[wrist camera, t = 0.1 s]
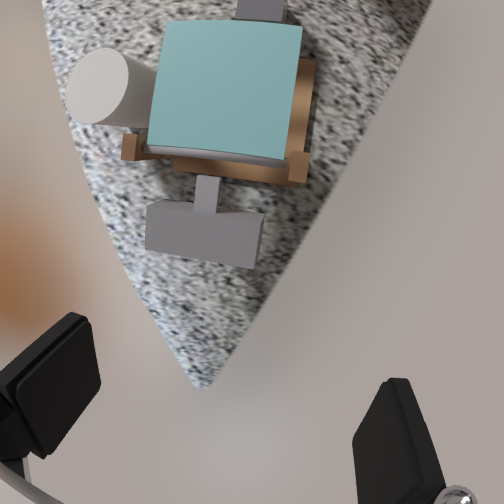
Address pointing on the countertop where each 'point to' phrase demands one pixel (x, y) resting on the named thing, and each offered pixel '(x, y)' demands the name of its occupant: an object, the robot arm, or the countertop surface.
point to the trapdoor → (219, 127)
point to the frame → (288, 177)
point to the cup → (110, 90)
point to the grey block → (262, 11)
